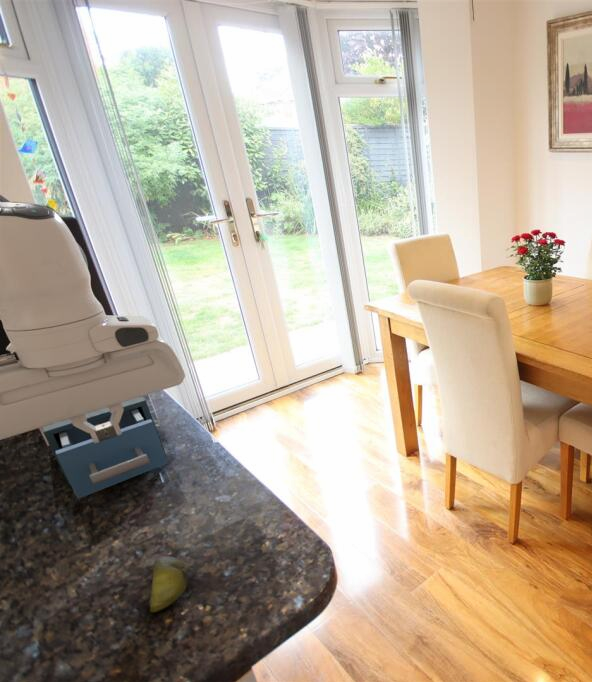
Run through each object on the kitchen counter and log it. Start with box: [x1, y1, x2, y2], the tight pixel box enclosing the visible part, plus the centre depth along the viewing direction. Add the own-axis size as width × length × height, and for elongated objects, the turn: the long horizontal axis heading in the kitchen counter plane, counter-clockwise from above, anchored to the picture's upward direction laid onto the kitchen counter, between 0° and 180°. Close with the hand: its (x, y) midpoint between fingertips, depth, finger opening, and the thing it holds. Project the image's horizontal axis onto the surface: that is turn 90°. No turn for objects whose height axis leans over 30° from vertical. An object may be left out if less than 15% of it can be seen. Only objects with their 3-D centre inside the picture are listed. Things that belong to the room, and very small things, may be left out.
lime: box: [149, 556, 188, 614], centre depth 48 cm, size 4×5×5 cm
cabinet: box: [42, 396, 165, 486], centre depth 72 cm, size 12×12×9 cm
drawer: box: [55, 408, 169, 500], centre depth 66 cm, size 15×10×7 cm
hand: (108, 437), depth 61 cm, fingers closed
